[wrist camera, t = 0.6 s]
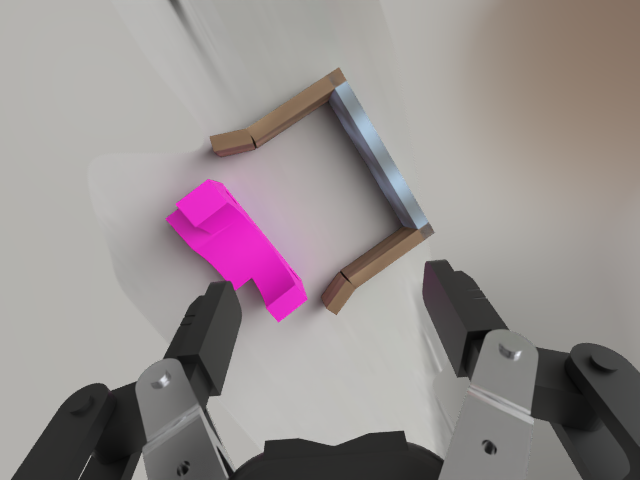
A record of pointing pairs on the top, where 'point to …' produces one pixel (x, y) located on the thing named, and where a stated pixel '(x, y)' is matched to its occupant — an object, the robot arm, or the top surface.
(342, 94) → the cradle
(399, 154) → the top surface
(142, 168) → the top surface
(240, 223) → the magenta saddle bracket
